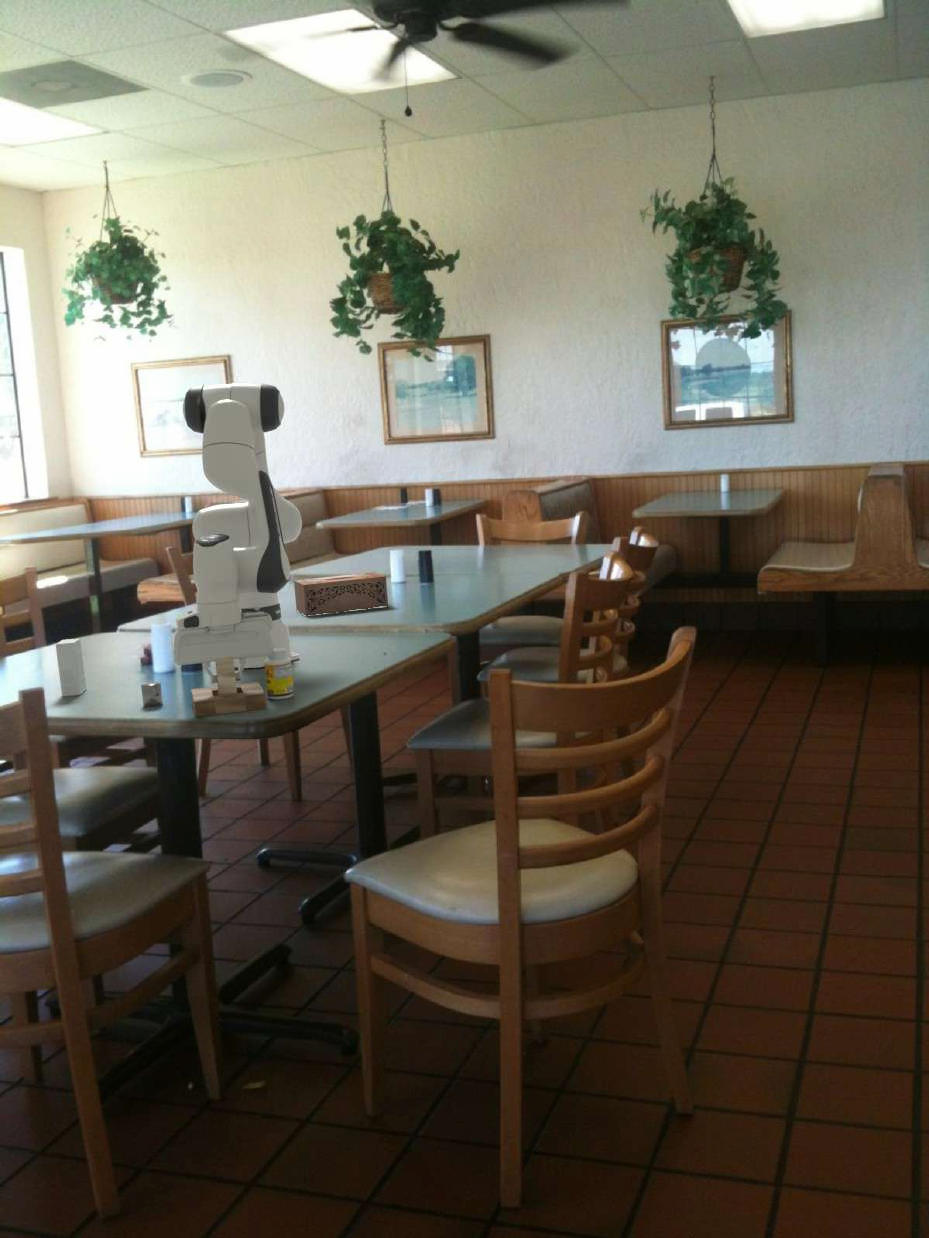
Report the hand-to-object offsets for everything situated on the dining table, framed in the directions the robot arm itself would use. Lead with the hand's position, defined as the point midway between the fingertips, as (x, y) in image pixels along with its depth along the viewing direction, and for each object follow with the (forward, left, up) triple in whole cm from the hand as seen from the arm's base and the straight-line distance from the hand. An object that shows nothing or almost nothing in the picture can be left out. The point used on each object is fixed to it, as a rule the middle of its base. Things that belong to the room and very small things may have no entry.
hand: (226, 681), depth 258 cm
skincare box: (-34, -32, -5) cm, 47 cm away
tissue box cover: (-126, +44, -6) cm, 133 cm away
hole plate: (0, 0, -5) cm, 5 cm away
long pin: (0, 0, -4) cm, 4 cm away
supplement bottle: (-2, +11, -5) cm, 12 cm away
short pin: (-10, -15, -5) cm, 19 cm away
